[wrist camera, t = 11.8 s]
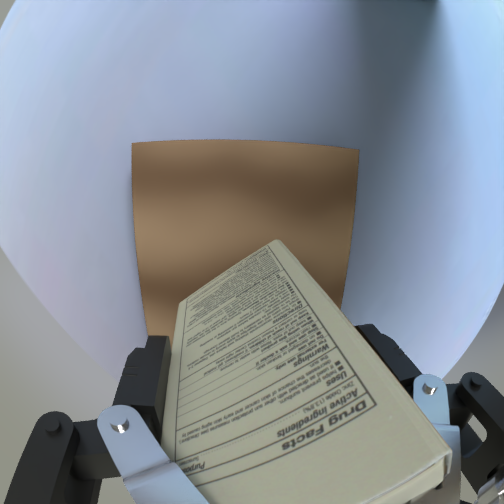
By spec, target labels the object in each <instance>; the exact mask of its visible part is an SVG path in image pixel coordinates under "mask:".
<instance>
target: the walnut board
mask: <svg viewBox="0 0 504 504" xmlns="http://www.w3.org/2000/svg"><path fill="white" fill-rule="evenodd" d="M358 163H359V150H357V149H350V148H342V147H334V146H325V145H315V144H304V143H292V142H277V141H258V140H172V141H153V142H138V143H132V197H133V216H134V230H135V242H136V253H137V263H138V271H139V279H140V287H141V294H142V301H143V308H144V314H145V320H146V326H147V332H148V336H149V335H162V336H169V339H170V345H171V351H172V344H173V338H174V331H175V324H176V318H177V312H178V307H179V304H180V302H181V301H183V300H184V299H186V298H187V297H189V296H190V295H191V294H193V293H194V292H196V291H197V290H198V289H200V288H201V287H203V286H204V285H206V284H207V283H209V282H210V281H211V280H213V279H214V278H216V277H217V276H219V275H220V274H222V273H223V272H225V271H226V270H228V269H229V268H231V267H232V266H234V265H235V264H237V263H238V262H240V261H241V260H243V259H245V258H246V257H248V256H249V255H251V254H252V253H254V252H256V251H257V250H259V249H260V248H262V247H264V246H265V245H267V244H269V243H270V242H272V241H274V240H276V239H278V240H280V241H281V242H282V243H283V244H284V245H285V246H286V247H287V248H288V249H289V251H290V252H291V253H292V254H293V255H294V256H295V257H296V258H297V259H298V261H299V262H300V263H301V264H302V265H303V267H304V268H305V269H306V270H307V271H308V273H309V274H310V275H311V276H312V277H313V278H314V280H315V281H316V282H317V283H318V284H319V285H320V286H321V288H322V289H323V290H324V291H325V292H326V293H327V295H328V296H329V297H330V298H331V299H332V301H333V302H334V303H335V304H336V305H337V307H338V308H339V309H341V303H342V298H343V292H344V286H345V280H346V274H347V267H348V261H349V254H350V246H351V239H352V230H353V222H354V212H355V202H356V191H357V178H358Z"/></svg>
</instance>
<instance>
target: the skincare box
mask: <svg viewBox="0 0 504 504" xmlns="http://www.w3.org/2000/svg"><path fill="white" fill-rule="evenodd" d="M171 352H172V355H171V362H170V368H169V375H168V383H167V390H166V399H165V407H164V417H163V426H162V438H161V448H162V449H163V451H164V452H165V454H166V455H167V456H168V458H169V459H170V460H171V461H172V460H173V461H174V462H175V463H176V464H177V465H178V466H179V467H180V469H181V470H182V471H183V473H184V474H185V475H186V476H187V478H188V479H189V480H190V481H191V482H192V484H193V485H194V486H195V487H196V488H197V490H198V491H199V492H200V493H201V494H202V495H203V496H204V498H205V499H206V500H207V501H208V502H209V503H210V504H406V503H407V502H408V501H410V500H411V499H412V498H414V497H416V496H418V495H420V494H421V493H423V492H425V491H427V490H429V489H430V488H432V487H434V489H435V488H436V487H437V486H438V485H439V484H440V483H441V482H442V481H443V476H444V474H445V473H446V474H449V472H450V468H451V461H452V449H451V448H450V447H449V446H448V444H447V443H446V442H445V440H444V439H443V438H442V437H441V435H440V434H439V433H438V431H437V430H436V429H435V427H434V426H433V425H432V423H431V422H430V421H429V420H428V418H427V417H426V416H425V414H424V413H423V412H422V411H421V409H420V408H419V407H418V405H417V404H416V403H415V402H414V400H413V399H412V398H411V397H410V395H409V394H408V393H407V391H406V390H405V389H404V388H403V386H402V385H401V384H400V383H399V381H398V380H397V379H396V377H395V376H394V375H393V374H392V372H391V371H390V370H389V369H388V367H387V366H386V365H385V364H384V362H383V361H382V360H381V359H380V357H379V356H378V355H377V354H376V353H375V351H374V350H373V349H372V348H371V346H370V345H369V344H368V343H367V342H366V340H365V339H364V338H363V337H362V335H361V334H360V333H359V332H358V331H357V329H356V328H355V327H354V326H353V325H352V323H351V322H350V321H349V320H348V319H347V317H346V316H345V315H344V314H343V313H342V311H341V310H340V309H339V308H338V307H337V305H336V304H335V303H334V302H333V301H332V299H331V298H330V297H329V296H328V295H327V293H326V292H325V291H324V290H323V289H322V288H321V286H320V285H319V284H318V283H317V282H316V281H315V280H314V278H313V277H312V276H311V275H310V274H309V273H308V271H307V270H306V269H305V268H304V267H303V265H302V264H301V263H300V262H299V261H298V259H297V258H296V257H295V256H294V255H293V254H292V253H291V252H290V251H289V249H288V248H287V247H286V246H285V245H284V244H283V243H282V242H281V241H280V240H278V239H276V240H274V241H272V242H270V243H269V244H267V245H265V246H264V247H262V248H260V249H259V250H257V251H256V252H254V253H252V254H251V255H249V256H248V257H246V258H245V259H243V260H241V261H240V262H238V263H237V264H235V265H234V266H232V267H231V268H229V269H228V270H226V271H225V272H223V273H222V274H220V275H219V276H217V277H216V278H214V279H213V280H211V281H210V282H209V283H207V284H206V285H204V286H203V287H201V288H200V289H198V290H197V291H196V292H194V293H193V294H191V295H190V296H189V297H187V298H186V299H184V300H183V301H181V302H180V304H179V307H178V312H177V318H176V324H175V331H174V338H173V344H172V351H171Z"/></svg>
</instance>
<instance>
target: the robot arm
mask: <svg viewBox="0 0 504 504" xmlns="http://www.w3.org/2000/svg"><path fill="white" fill-rule="evenodd" d="M354 327H355V328H356V329H357V331H358V332H359V333H360V334H361V335H362V337H363V338H364V339H365V340H366V342H367V343H368V344H369V345H370V346H371V348H372V349H373V350H374V351H375V353H376V354H377V355H378V356H379V357H380V359H381V360H382V361H383V362H384V364H385V365H386V366H387V367H388V369H389V370H390V371H391V372H392V374H393V375H394V376H395V377H396V379H397V380H398V381H399V383H400V384H401V385H402V386H403V388H404V389H405V390H406V391H407V393H408V394H409V395H410V397H411V398H412V399H413V400H414V402H415V403H416V404H417V405H418V407H419V408H420V409H421V411H422V412H423V413H424V414H425V416H426V417H427V418H428V420H429V421H430V422H431V423H432V425H433V426H434V427H435V429H436V430H437V431H438V433H439V434H440V435H441V437H442V438H443V439H444V440H445V442H446V443H447V444H448V446H449V447H450V448H451V449H452V461H451V468H450V472H449V474H446V473H445V474H444V476H443V481H442V482H441V483H440V484H439V485H438V486H437V487H436V488H435V489H434V487H432V488H430V489H429V490H427V491H425V492H423V493H421V494H420V495H418V496H416V497H414V498H412V499H411V500H410V501H408V502H407V503H406V504H471V503H468V502H465V501H462V500H460V488H461V471H462V473H463V474H464V475H465V477H466V478H467V480H468V481H469V483H470V484H471V486H472V487H473V489H474V491H475V492H476V494H477V495H478V499H477V500H476V501H475V502H474V504H504V397H503V396H502V395H501V394H500V392H498V390H497V389H495V387H494V386H493V385H491V383H490V382H489V381H488V380H487V379H486V378H485V377H484V376H482V375H480V374H478V373H475V372H468V373H466V374H464V375H463V377H462V378H461V381H460V382H459V383H457V384H445V383H444V382H443V381H442V380H441V379H440V378H439V377H437V376H434V375H431V374H422V373H421V372H420V371H419V369H418V368H417V367H416V366H415V365H414V364H413V362H412V361H411V360H410V359H409V358H408V357H407V355H405V354H404V352H403V351H402V350H401V348H400V349H399V346H398V345H397V344H396V343H395V341H394V340H393V339H391V338H390V337H388V336H386V335H385V334H381V333H380V332H379V331H378V329H377V328H376V327H375V326H374V325H373V324H365V325H358V326H354ZM171 355H172V352H171V345H170V339H169V336H162V335H149V336H148V340H147V343H146V346H145V348H135V349H134V350H133V351H132V353H131V354H130V355H129V356H128V358H127V361H126V364H125V368H124V370H123V373H122V376H121V379H120V382H119V385H118V388H117V391H116V395H115V398H114V401H113V405H112V406H111V407H109V408H107V409H105V410H104V411H102V413H101V414H100V415H99V417H98V419H95V420H90V421H81V422H72V420H71V419H70V417H69V416H68V415H66V414H64V413H62V412H57V411H54V412H48V413H46V414H44V415H42V416H41V417H40V418H39V419H38V421H37V422H36V424H35V427H34V429H33V431H32V433H31V435H30V437H29V440H28V442H27V444H26V447H25V449H24V451H23V453H22V456H21V458H20V461H19V463H18V466H17V468H16V471H15V473H14V476H13V479H12V482H11V484H10V487H9V490H8V493H7V496H6V499H5V502H4V504H97V503H98V498H99V492H100V487H101V483H102V479H103V478H112V477H120V476H122V478H123V482H124V484H125V486H126V488H127V490H128V491H129V493H130V495H131V496H132V498H133V499H134V501H135V503H136V504H210V503H209V502H208V501H207V500H206V499H205V498H204V496H203V495H202V494H201V493H200V492H199V491H198V490H197V488H196V487H195V486H194V485H193V484H192V482H191V481H190V480H189V479H188V478H187V476H186V475H185V474H184V473H183V471H182V470H181V469H180V467H179V466H178V465H177V464H176V463H175V462H174V461H173V460H172V461H171V460H170V459H169V458H168V456H167V455H166V454H165V452H164V451H163V449H162V448H161V438H162V426H163V417H164V407H165V399H166V390H167V383H168V375H169V368H170V362H171ZM472 415H474V416H475V417H476V418H477V419H478V420H479V422H480V423H481V424H482V425H483V426H484V428H485V429H486V431H487V438H486V440H485V441H484V442H482V441H481V439H480V438H479V437H478V436H477V434H476V433H475V432H474V430H473V429H472V428H471V427H470V425H469V424H468V421H469V420H470V419H471V417H472Z"/></svg>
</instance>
